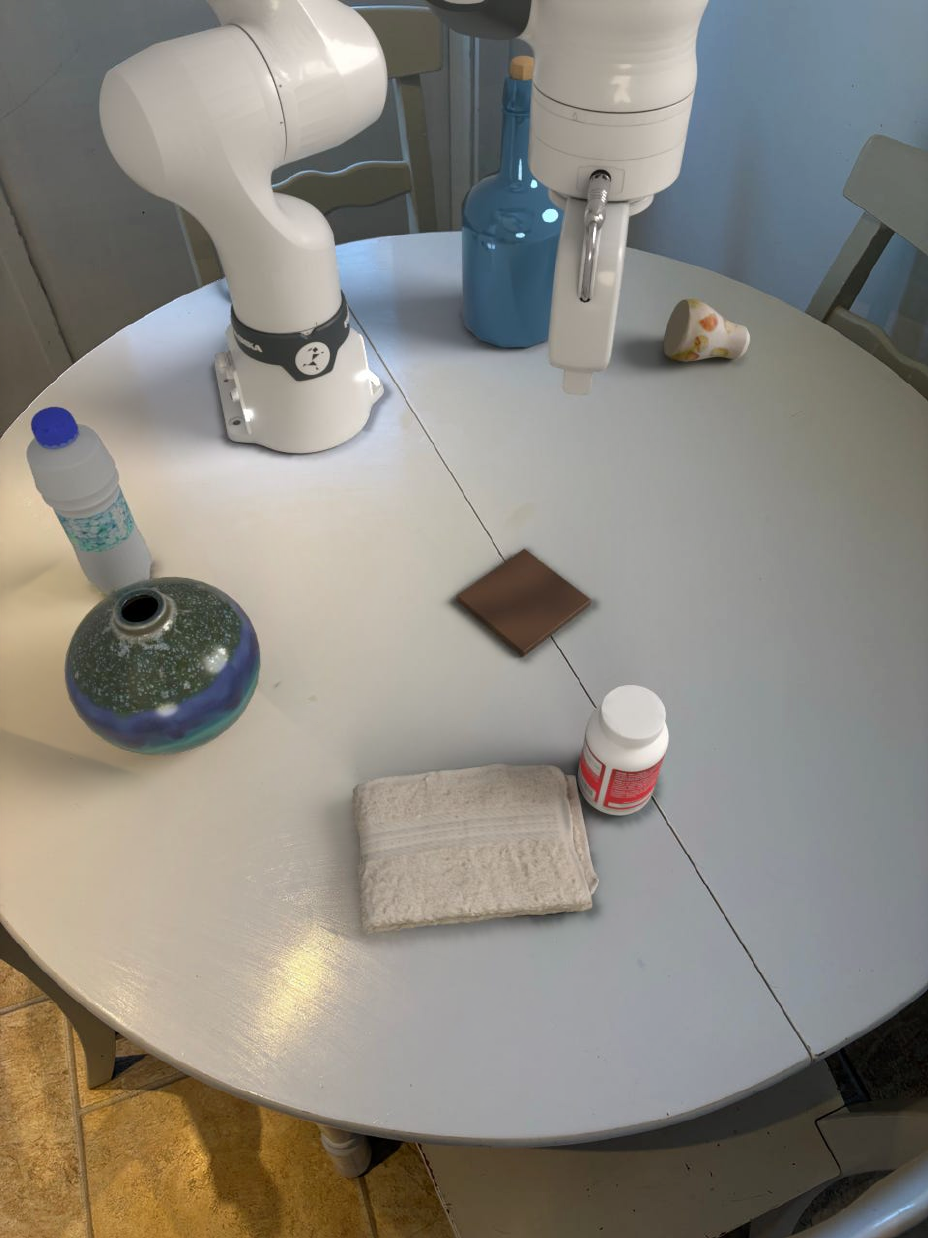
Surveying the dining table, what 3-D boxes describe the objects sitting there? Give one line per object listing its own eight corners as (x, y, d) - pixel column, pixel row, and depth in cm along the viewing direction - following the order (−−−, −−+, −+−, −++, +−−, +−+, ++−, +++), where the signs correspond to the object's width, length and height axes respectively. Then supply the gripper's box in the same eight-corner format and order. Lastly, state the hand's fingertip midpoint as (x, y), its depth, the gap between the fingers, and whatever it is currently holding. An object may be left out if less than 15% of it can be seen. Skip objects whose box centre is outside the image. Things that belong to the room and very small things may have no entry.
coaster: (456, 600, 85) (456, 595, 84) (523, 553, 88) (524, 548, 88) (523, 657, 81) (523, 652, 80) (590, 605, 84) (591, 599, 84)
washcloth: (602, 913, 66) (607, 897, 64) (360, 943, 65) (356, 928, 62) (571, 771, 73) (574, 753, 71) (353, 796, 72) (349, 778, 70)
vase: (57, 712, 77) (-8, 617, 67) (196, 606, 84) (157, 506, 74) (168, 817, 71) (116, 730, 61) (308, 693, 78) (283, 597, 68)
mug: (756, 373, 106) (736, 319, 99) (676, 394, 111) (651, 343, 103) (752, 325, 109) (733, 268, 102) (675, 346, 114) (650, 294, 106)
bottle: (172, 561, 88) (106, 397, 72) (135, 610, 84) (58, 449, 69) (113, 545, 90) (37, 380, 74) (75, 593, 86) (-15, 430, 70)
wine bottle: (517, 366, 107) (530, 98, 84) (439, 322, 113) (430, 60, 90) (588, 318, 113) (618, 56, 90) (510, 279, 119) (520, 23, 96)
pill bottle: (665, 774, 73) (691, 700, 64) (631, 832, 70) (653, 763, 61) (598, 738, 75) (615, 662, 67) (562, 792, 72) (575, 721, 63)
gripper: (656, 232, 44) (619, 449, 54) (667, 67, 56) (636, 271, 67) (529, 222, 44) (517, 438, 55) (568, 61, 57) (552, 264, 68)
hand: (582, 345), depth 61 cm, fingers open, 8 cm apart
